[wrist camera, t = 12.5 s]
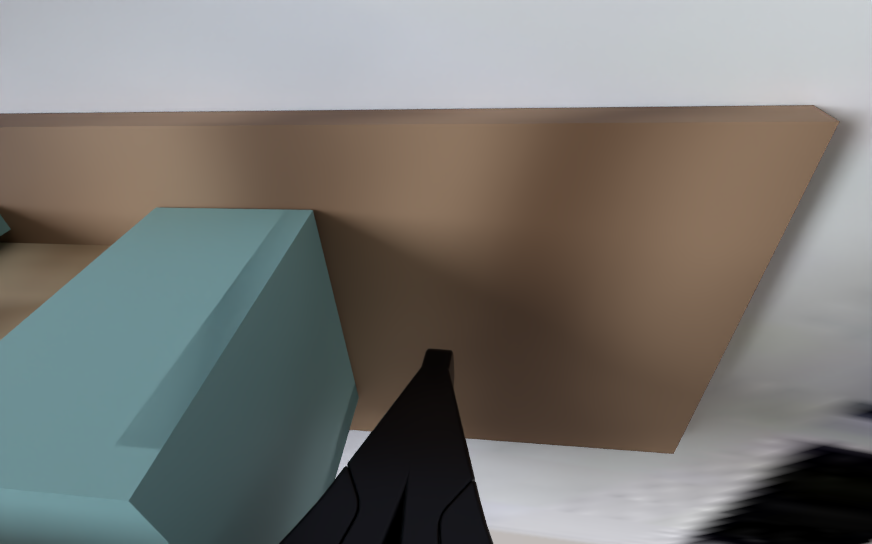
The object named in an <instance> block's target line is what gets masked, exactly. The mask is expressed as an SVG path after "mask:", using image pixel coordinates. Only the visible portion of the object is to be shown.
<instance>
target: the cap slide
mask: <svg viewBox="0 0 872 544" xmlns="http://www.w3.org/2000/svg"><path fill="white" fill-rule="evenodd" d="M358 399H359V397H358V392H357V388H356V384H355V380H354V376H353V372H352V368H351V364H350V360H349V356H348V352H347V348H346V343H345V339H344V335H343V331H342V327H341V323H340V319H339V315H338V311H337V307H336V303H335V299H334V294H333V290H332V286H331V282H330V278H329V274H328V270H327V266H326V262H325V258H324V254H323V250H322V245H321V241H320V237H319V233H318V229H317V225H316V221H315V217H314V213H313V210H281V209H219V208H157V207H156V208H155V209H153V210H152V211H151V212H150V213H149V214H148V215H146V216H145V217H144V218H143V219H142V220H141V221H139V222H138V223H137V224H136V225H135V226H134V227H132V228H131V229H130V230H129V231H128V232H126V233H125V234H124V235H123V236H122V237H121V238H119V239H118V240H117V241H116V242H115V243H114V244H112V245H111V246H110V247H109V248H108V249H107V250H105V251H104V252H103V253H102V254H101V255H100V256H98V257H97V258H96V259H95V260H94V261H93V262H91V263H90V264H89V265H88V266H87V267H86V268H84V269H83V270H82V271H81V272H80V273H78V274H77V275H76V276H75V277H74V278H73V279H71V280H70V281H69V282H68V283H67V284H66V285H64V286H63V287H62V288H61V289H60V290H59V291H57V292H56V293H55V294H54V295H53V296H52V297H50V298H49V299H48V300H47V301H46V302H45V303H43V304H42V305H41V306H40V307H39V308H38V309H36V310H35V311H34V312H33V313H32V314H31V315H29V316H28V317H27V318H26V319H25V320H23V321H22V322H21V323H20V324H19V325H18V326H16V327H15V328H14V329H13V330H12V331H11V332H9V333H8V334H7V335H6V336H5V337H4V338H2V339H1V340H0V544H279V543H280V542H281V540H282V539H283V538H284V537H285V536H286V535H287V534H288V533H289V532H290V531H291V530H292V529H293V528H294V527H295V526H296V525H297V524H298V522H299V521H300V520H301V519H302V518H303V517H304V516H305V515H306V514H307V512H308V511H309V510H310V509H311V508H312V507H313V506H314V505H315V504H316V502H317V501H318V500H319V499H320V498H321V496H322V495H323V494H324V493H325V491H326V490H327V489H328V488H329V486H330V485H331V484H332V483H333V482H334V480H335V477H336V474H337V470H338V467H339V463H340V460H341V457H342V453H343V450H344V446H345V443H346V440H347V436H348V433H349V429H350V426H351V423H352V419H353V416H354V412H355V409H356V406H357V402H358Z"/></svg>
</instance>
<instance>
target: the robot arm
mask: <svg viewBox="0 0 872 544" xmlns="http://www.w3.org/2000/svg"><path fill="white" fill-rule="evenodd" d="M347 465H348V467H347V466H345V467H344V468H343V470H342V471H341V472H340V474H339V475H338V476H337V478H336V479H335V480H334V482H333V483H332V484H331V485H330V486H329V488H328V489H327V490H326V491H325V493H324V494H323V495H322V496H321V498H320V499H319V500H318V501H317V502H316V504H315V505H314V506H313V507H312V508H311V509H310V510H309V511H308V512H307V514H306V515H305V516H304V517H303V518H302V519H301V520H300V521H299V522H298V524H297V525H296V526H295V527H294V528H293V529H292V530H291V531H290V532H289V533H288V534H287V535H286V536H285V537H284V538H283V539H282V540H281V542H280V543H279V544H493V541H492V538H491V536H490V532H489V530H488V527H487V523H486V520H485V516H484V512H483V509H482V505H481V501H480V497H479V493H478V489H477V485H476V482H475V477H474V473H473V469H472V464H471V460H470V456H469V452H468V447H467V443H466V439H465V435H464V431H463V426H462V422H461V418H460V414H459V409H458V405H457V401H456V397H455V392H454V356H453V351H451V350H446V349H432V348H429V349H427V350H426V352H425V355H424V359H423V362H422V366H421V368H420V369H419V370H418V372H417V373H416V374H415V376H414V377H413V378H412V380H411V381H410V382H409V383H408V385H407V386H406V387H405V389H404V390H403V391H402V393H401V394H400V395H399V397H398V398H397V399H396V401H395V402H394V403H393V404H392V406H391V407H390V408H389V410H388V411H387V412H386V414H385V415H384V416H383V418H382V419H381V420H380V421H379V423H378V424H377V425H376V427H375V428H374V429H373V431H372V432H371V433H370V435H369V436H368V437H367V439H366V440H365V441H364V442H363V444H362V445H361V446H360V448H359V449H358V450H357V452H356V453H355V454H354V456H353V457H352V458H351V459H350V461H349V462H348V464H347Z"/></svg>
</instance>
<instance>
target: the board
mask: <svg viewBox="0 0 872 544" xmlns="http://www.w3.org/2000/svg"><path fill="white" fill-rule="evenodd" d="M838 123H839V121H838V120H836V119H835V118H833V117H831V116H830V115H828V114H827V113H825V112H823V111H822V110H820V109H819V108H817V107H815V106H814V105H797V106H702V107H606V108H511V109H415V110H320V111H224V112H129V113H33V114H0V215H1V216H2V218H3V219H4V220H5V222H6V223H7V225H8V226H9V227H10V229H11V230H9V231H7V232H6V233H4V234H3V235H1V236H0V243H37V244H74V245H110V246H111V245H112V244H114V243H115V242H116V241H117V240H118V239H119V238H121V237H122V236H123V235H124V234H125V233H126V232H128V231H129V230H130V229H131V228H132V227H134V226H135V225H136V224H137V223H138V222H139V221H141V220H142V219H143V218H144V217H145V216H146V215H148V214H149V213H150V212H151V211H152V210H153V209H155V208H156V207H157V208H219V209H281V210H313V213H314V217H315V221H316V225H317V229H318V233H319V237H320V241H321V245H322V250H323V254H324V258H325V262H326V266H327V270H328V274H329V278H330V282H331V286H332V290H333V294H334V299H335V303H336V307H337V311H338V315H339V319H340V323H341V327H342V331H343V335H344V339H345V343H346V348H347V352H348V356H349V360H350V364H351V368H352V372H353V376H354V380H355V384H356V388H357V392H358V397H359V399H358V402H357V406H356V409H355V412H354V416H353V419H352V423H351V426H350V429H349V430H361V431H373V429H374V428H375V427H376V425H377V424H378V423H379V421H380V420H381V419H382V418H383V416H384V415H385V414H386V412H387V411H388V410H389V408H390V407H391V406H392V404H393V403H394V402H395V401H396V399H397V398H398V397H399V395H400V394H401V393H402V391H403V390H404V389H405V387H406V386H407V385H408V383H409V382H410V381H411V380H412V378H413V377H414V376H415V374H416V373H417V372H418V370H419V369H420V368H421V366H422V362H423V359H424V355H425V352H426V350H427V349H429V348H432V349H446V350H451V351H453V356H454V392H455V397H456V401H457V405H458V409H459V414H460V418H461V422H462V426H463V431H464V435H465V438H468V439H482V440H495V441H509V442H522V443H536V444H549V445H562V446H576V447H589V448H603V449H616V450H630V451H643V452H657V453H670V454H674V452H675V450H676V448H677V446H678V444H679V442H680V440H681V438H682V436H683V434H684V432H685V430H686V428H687V426H688V424H689V422H690V420H691V418H692V416H693V414H694V412H695V410H696V408H697V406H698V404H699V402H700V400H701V398H702V396H703V394H704V392H705V390H706V388H707V386H708V384H709V382H710V380H711V378H712V376H713V374H714V372H715V370H716V368H717V366H718V364H719V362H720V360H721V358H722V356H723V354H724V352H725V350H726V348H727V346H728V344H729V342H730V340H731V338H732V336H733V334H734V332H735V330H736V328H737V326H738V324H739V322H740V320H741V318H742V316H743V314H744V312H745V310H746V308H747V306H748V304H749V302H750V300H751V298H752V296H753V294H754V292H755V290H756V288H757V286H758V284H759V282H760V280H761V278H762V276H763V274H764V272H765V270H766V268H767V266H768V264H769V262H770V260H771V258H772V256H773V254H774V252H775V250H776V248H777V246H778V244H779V242H780V240H781V238H782V236H783V234H784V232H785V230H786V228H787V226H788V224H789V222H790V220H791V218H792V216H793V214H794V212H795V210H796V208H797V206H798V204H799V202H800V200H801V198H802V196H803V194H804V192H805V190H806V188H807V186H808V183H809V181H810V179H811V177H812V175H813V173H814V171H815V169H816V167H817V165H818V163H819V161H820V159H821V157H822V155H823V153H824V151H825V149H826V147H827V145H828V143H829V141H830V139H831V137H832V135H833V133H834V131H835V129H836V127H837V125H838Z"/></svg>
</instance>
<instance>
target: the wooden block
mask: <svg viewBox="0 0 872 544" xmlns="http://www.w3.org/2000/svg"><path fill="white" fill-rule="evenodd" d="M109 247H110V245H74V244H37V243H0V340H1V339H2V338H4V337H5V336H6V335H7V334H8V333H9V332H11V331H12V330H13V329H14V328H15V327H16V326H18V325H19V324H20V323H21V322H22V321H23V320H25V319H26V318H27V317H28V316H29V315H31V314H32V313H33V312H34V311H35V310H36V309H38V308H39V307H40V306H41V305H42V304H43V303H45V302H46V301H47V300H48V299H49V298H50V297H52V296H53V295H54V294H55V293H56V292H57V291H59V290H60V289H61V288H62V287H63V286H64V285H66V284H67V283H68V282H69V281H70V280H71V279H73V278H74V277H75V276H76V275H77V274H78V273H80V272H81V271H82V270H83V269H84V268H86V267H87V266H88V265H89V264H90V263H91V262H93V261H94V260H95V259H96V258H97V257H98V256H100V255H101V254H102V253H103V252H104V251H105V250H107V249H108V248H109Z"/></svg>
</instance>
